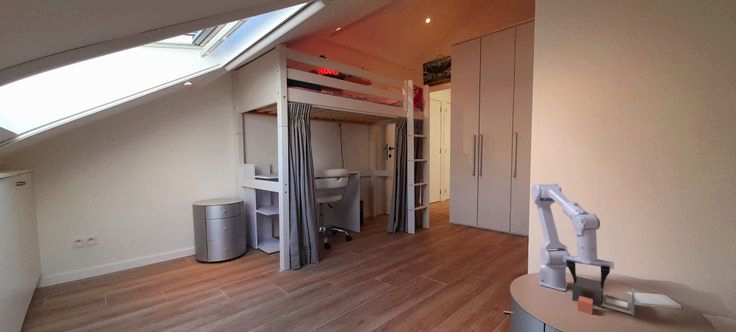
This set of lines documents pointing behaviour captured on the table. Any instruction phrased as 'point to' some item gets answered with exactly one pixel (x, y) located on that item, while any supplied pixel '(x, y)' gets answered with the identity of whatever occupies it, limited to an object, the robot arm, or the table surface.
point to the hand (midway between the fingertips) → (588, 284)
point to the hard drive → (654, 300)
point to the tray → (619, 303)
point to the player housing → (587, 290)
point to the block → (585, 305)
